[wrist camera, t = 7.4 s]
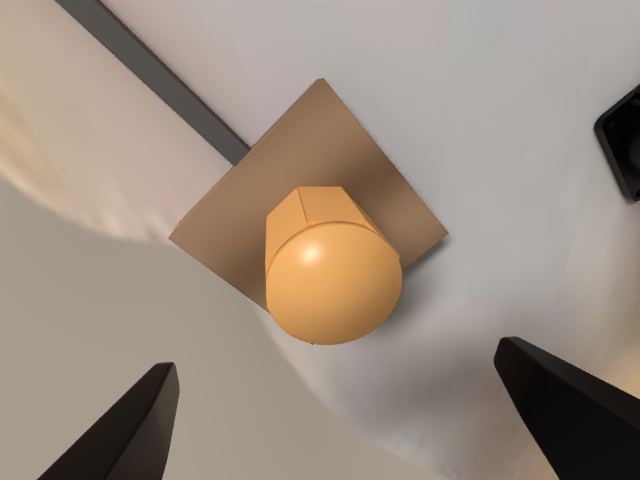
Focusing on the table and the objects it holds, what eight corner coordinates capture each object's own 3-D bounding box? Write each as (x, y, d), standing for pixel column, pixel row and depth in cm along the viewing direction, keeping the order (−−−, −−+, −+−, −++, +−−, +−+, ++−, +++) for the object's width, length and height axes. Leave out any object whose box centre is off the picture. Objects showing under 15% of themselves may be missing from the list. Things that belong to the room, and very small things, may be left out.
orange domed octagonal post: (385, 233, 17) (428, 286, 12) (315, 294, 18) (331, 364, 13) (320, 164, 15) (342, 197, 10) (245, 237, 16) (235, 296, 11)
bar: (250, 148, 16) (249, 151, 15) (236, 162, 16) (234, 166, 15) (-157, -251, 10) (-201, -286, 9) (-171, -219, 10) (-216, -250, 9)
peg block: (431, 219, 19) (496, 270, 14) (309, 322, 21) (322, 403, 16) (317, 79, 15) (343, 73, 10) (178, 222, 17) (136, 284, 12)
